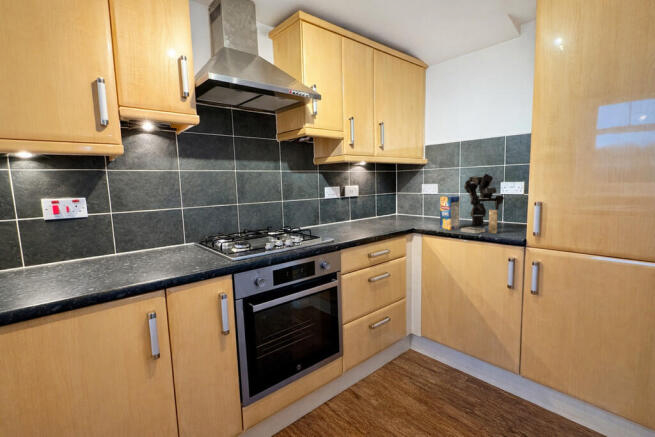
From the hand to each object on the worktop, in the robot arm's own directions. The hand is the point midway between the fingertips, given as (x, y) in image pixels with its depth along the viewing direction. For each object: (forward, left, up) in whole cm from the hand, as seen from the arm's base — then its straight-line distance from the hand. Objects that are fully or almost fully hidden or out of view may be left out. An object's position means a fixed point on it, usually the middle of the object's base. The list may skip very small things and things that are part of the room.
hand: (489, 210), depth 193 cm
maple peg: (+6, -5, -13) cm, 15 cm away
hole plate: (-4, -10, -13) cm, 17 cm away
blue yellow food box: (-21, -11, -13) cm, 28 cm away
